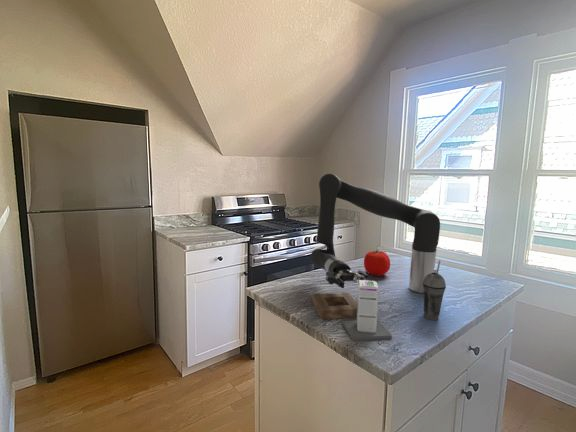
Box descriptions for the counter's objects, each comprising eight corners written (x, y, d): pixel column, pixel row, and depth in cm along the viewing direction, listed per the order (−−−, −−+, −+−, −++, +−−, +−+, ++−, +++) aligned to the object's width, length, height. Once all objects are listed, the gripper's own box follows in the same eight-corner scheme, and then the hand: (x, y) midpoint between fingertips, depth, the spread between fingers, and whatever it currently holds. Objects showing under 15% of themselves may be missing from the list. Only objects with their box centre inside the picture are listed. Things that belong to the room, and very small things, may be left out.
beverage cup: (415, 312, 112) (420, 257, 109) (435, 311, 113) (440, 257, 110) (426, 322, 105) (431, 264, 102) (447, 321, 106) (453, 263, 103)
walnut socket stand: (348, 300, 121) (349, 292, 121) (361, 317, 108) (362, 308, 107) (312, 301, 120) (312, 294, 119) (321, 319, 106) (321, 310, 105)
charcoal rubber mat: (377, 322, 104) (378, 319, 104) (391, 338, 95) (391, 335, 94) (342, 324, 103) (342, 321, 103) (352, 340, 93) (352, 337, 93)
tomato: (382, 269, 159) (384, 247, 158) (394, 278, 146) (396, 254, 145) (359, 270, 158) (360, 247, 156) (369, 279, 145) (371, 255, 143)
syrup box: (376, 333, 95) (379, 287, 93) (356, 331, 96) (359, 285, 94) (374, 324, 101) (377, 280, 99) (355, 322, 102) (358, 279, 100)
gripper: (319, 260, 120) (335, 275, 104) (354, 259, 123) (375, 272, 107) (319, 279, 121) (334, 296, 105) (353, 277, 124) (374, 293, 108)
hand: (355, 284), depth 106 cm, fingers open, 8 cm apart
